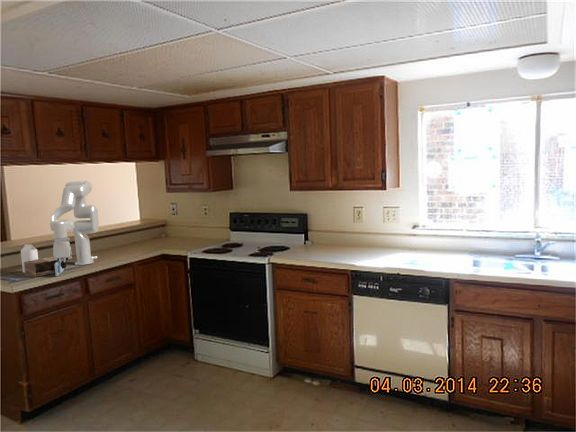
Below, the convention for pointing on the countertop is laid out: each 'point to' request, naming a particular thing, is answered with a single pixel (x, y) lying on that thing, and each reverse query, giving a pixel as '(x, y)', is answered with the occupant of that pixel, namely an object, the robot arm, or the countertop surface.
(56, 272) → the cabinet door
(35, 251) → the milk carton
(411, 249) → the countertop surface
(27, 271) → the walnut cabinet
